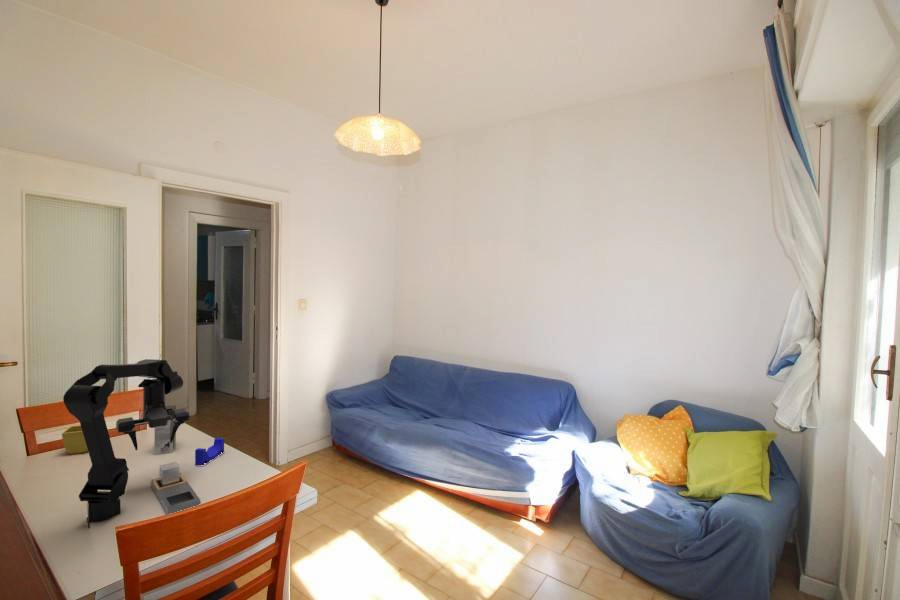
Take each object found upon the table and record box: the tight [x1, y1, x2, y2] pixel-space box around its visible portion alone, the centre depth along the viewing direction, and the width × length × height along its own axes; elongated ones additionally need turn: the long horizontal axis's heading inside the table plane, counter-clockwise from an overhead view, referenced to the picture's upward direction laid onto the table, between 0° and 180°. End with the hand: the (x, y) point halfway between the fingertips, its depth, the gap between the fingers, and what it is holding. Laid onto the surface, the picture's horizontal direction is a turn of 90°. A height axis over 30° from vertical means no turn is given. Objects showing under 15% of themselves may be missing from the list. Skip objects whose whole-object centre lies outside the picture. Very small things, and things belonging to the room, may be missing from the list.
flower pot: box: [61, 425, 89, 455], centre depth 161 cm, size 9×9×9 cm
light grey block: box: [159, 461, 181, 488], centre depth 133 cm, size 4×4×7 cm
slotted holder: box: [150, 472, 201, 515], centre depth 128 cm, size 8×24×3 cm, turn 44°
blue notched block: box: [194, 437, 225, 466], centre depth 157 cm, size 12×4×6 cm, turn 175°
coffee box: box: [153, 405, 177, 455], centre depth 165 cm, size 9×6×16 cm
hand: (153, 446), depth 136 cm, fingers open, 9 cm apart
